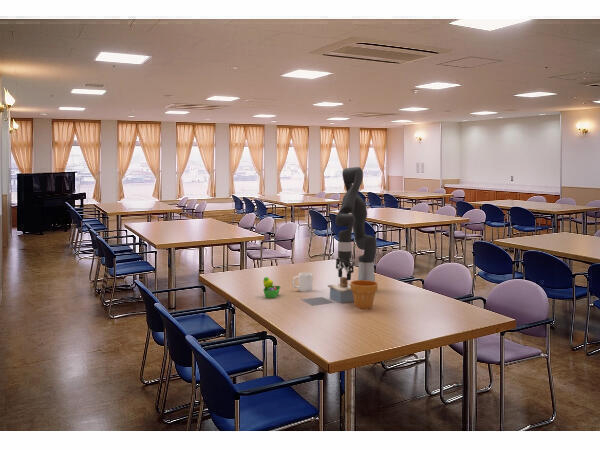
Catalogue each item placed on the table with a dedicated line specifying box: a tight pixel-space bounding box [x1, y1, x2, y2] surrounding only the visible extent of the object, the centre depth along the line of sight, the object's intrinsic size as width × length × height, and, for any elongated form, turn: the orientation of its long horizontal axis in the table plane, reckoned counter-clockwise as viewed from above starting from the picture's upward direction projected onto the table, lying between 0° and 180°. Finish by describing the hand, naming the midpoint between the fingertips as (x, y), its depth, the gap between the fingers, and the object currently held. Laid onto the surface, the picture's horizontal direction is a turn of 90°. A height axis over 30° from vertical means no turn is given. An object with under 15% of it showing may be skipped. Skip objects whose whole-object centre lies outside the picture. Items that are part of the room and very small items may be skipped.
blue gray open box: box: [329, 287, 354, 304], centre depth 295 cm, size 11×11×7 cm
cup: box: [292, 272, 313, 293], centre depth 316 cm, size 8×12×10 cm
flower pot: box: [350, 279, 378, 310], centre depth 281 cm, size 14×14×13 cm
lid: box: [327, 276, 351, 292], centre depth 294 cm, size 13×13×6 cm
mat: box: [300, 296, 336, 307], centre depth 291 cm, size 14×14×1 cm
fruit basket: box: [263, 276, 281, 299], centre depth 301 cm, size 11×9×11 cm
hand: (344, 278), depth 294 cm, fingers open, 8 cm apart
